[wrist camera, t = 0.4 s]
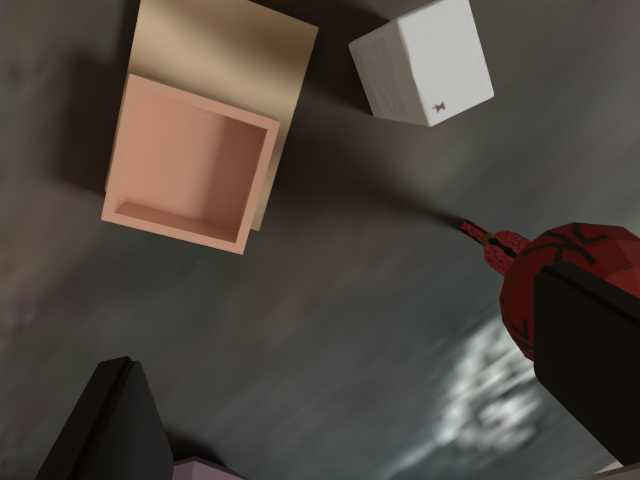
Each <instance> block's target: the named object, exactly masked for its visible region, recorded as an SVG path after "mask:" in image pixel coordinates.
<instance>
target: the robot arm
mask: <svg viewBox="0 0 640 480" xmlns="http://www.w3.org/2000/svg"><path fill="white" fill-rule="evenodd" d="M534 372H535V375H536V377H537V379H538V381H539V382H540V383H541V384H542V385H543V386H544V387H545V388H546V389H547V390H548V391H549V392H550V393H551V394H552V395H553V396H554V397H555V398H556V399H557V400H558V401H559V402H560V403H561V404H562V405H563V406H564V407H565V408H566V409H567V410H568V411H569V412H570V413H571V414H572V415H573V416H574V417H575V418H576V419H577V420H578V421H579V422H580V423H581V424H582V425H583V426H584V427H585V428H586V429H587V430H588V431H589V432H590V433H591V434H592V435H593V436H594V437H595V438H596V439H597V440H598V441H599V442H600V443H601V444H602V445H603V446H604V447H605V448H606V449H607V450H608V451H609V452H610V453H611V454H612V455H613V456H614V457H615V458H616V459H617V460H618V461H619V462H620V463H621V464H622V465H623V466H624V467H621V468H617V469H613V470H609V471H605V472H602V473H597V474H593V475H590V476H586V477H582V478H578V479H574V480H640V299H639V298H638V297H636V296H634V295H632V294H630V293H628V292H626V291H624V290H622V289H621V288H619V287H617V286H615V285H613V284H611V283H609V282H607V281H606V280H604V279H602V278H600V277H598V276H596V275H594V274H592V273H590V272H589V271H587V270H585V269H583V268H581V267H579V266H577V265H575V264H573V263H572V262H569V261H563V262H558V263H553V264H549V265H544V266H542V267H541V268H540V270H539V273H537V274H536V275H535V276H534ZM173 471H174V460H173V455H172V451H171V448H170V446H169V443H168V440H167V437H166V434H165V431H164V428H163V425H162V423H161V420H160V417H159V414H158V411H157V408H156V405H155V402H154V399H153V397H152V394H151V391H150V388H149V385H148V382H147V379H146V376H145V374H144V371H143V368H142V365H141V363H140V362H139V361H133V362H132V360H131V359H130V357H128V356H125V357H121V358H116V359H112V360H107V361H103V362H100V363H99V364H98V366H97V367H96V369H95V371H94V373H93V375H92V377H91V378H90V380H89V382H88V384H87V386H86V387H85V389H84V391H83V393H82V395H81V396H80V398H79V400H78V402H77V404H76V405H75V407H74V409H73V411H72V413H71V415H70V416H69V418H68V420H67V422H66V424H65V425H64V427H63V429H62V431H61V433H60V434H59V436H58V438H57V440H56V442H55V443H54V445H53V447H52V449H51V451H50V452H49V454H48V456H47V458H46V460H45V462H44V463H43V465H42V467H41V469H40V471H39V472H38V474H37V476H36V478H35V480H172V477H173Z"/></svg>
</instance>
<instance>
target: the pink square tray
mask: <svg viewBox="0 0 640 480" xmlns="http://www.w3.org/2000/svg"><path fill="white" fill-rule="evenodd" d="M280 123H281V122H280V121H279V120H278V119H276V118H273V117H270V116H267V115H264V114H261V113H257V112H254V111H251V110H248V109H245V108H242V107H239V106H236V105H233V104H230V103H227V102H224V101H220V100H217V99H214V98H211V97H208V96H205V95H202V94H199V93H196V92H193V91H190V90H187V89H183V88H180V87H177V86H174V85H171V84H168V83H165V82H162V81H159V80H156V79H153V78H150V77H146V76H143V75H136V74H129V79H128V84H127V89H126V94H125V99H124V104H123V109H122V115H121V120H120V125H119V130H118V135H117V140H116V145H115V151H114V156H113V161H112V166H111V171H110V176H109V181H108V187H107V192H106V197H105V202H104V207H103V212H102V218H101V220H105V221H109V222H113V223H117V224H121V225H125V226H129V227H133V228H137V229H141V230H145V231H149V232H153V233H157V234H161V235H166V236H170V237H174V238H178V239H182V240H186V241H190V242H194V243H198V244H202V245H206V246H210V247H214V248H218V249H222V250H226V251H230V252H234V253H238V254H242V255H243V251H244V248H245V244H246V241H247V237H248V234H249V230H250V227H251V223H252V220H253V216H254V213H255V210H256V206H257V203H258V199H259V196H260V192H261V189H262V185H263V182H264V178H265V175H266V171H267V168H268V165H269V161H270V158H271V154H272V151H273V147H274V144H275V140H276V137H277V133H278V130H279V126H280Z"/></svg>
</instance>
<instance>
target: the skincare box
mask: <svg viewBox="0 0 640 480" xmlns="http://www.w3.org/2000/svg"><path fill="white" fill-rule="evenodd" d="M348 46H349V49H350V52H351V54H352V57H353V60H354V63H355V66H356V68H357V71H358V74H359V77H360V80H361V82H362V85H363V88H364V91H365V93H366V96H367V99H368V101H369V104H370V107H371V110H372V112H373V115H374V117H377V118H383V119H389V120H394V121H400V122H406V123H411V124H417V125H423V126H428V127H431V126H433V125H435V124H437V123H440V122H442V121H444V120H446V119H448V118H450V117H452V116H454V115H456V114H458V113H460V112H462V111H464V110H467V109H469V108H471V107H473V106H475V105H477V104H479V103H481V102H483V101H486V100H488V99H490V98H492V97H493V96H494V92H493V89H492V85H491V81H490V77H489V74H488V70H487V66H486V62H485V59H484V55H483V52H482V48H481V44H480V41H479V37H478V34H477V30H476V27H475V23H474V19H473V16H472V12H471V8H470V5H469V1H468V0H436V1H434V2H431V3H429V4H427V5H424V6H422V7H420V8H417V9H415V10H413V11H410V12H408V13H406V14H404V15H402V16H400V17H397V18H395V19H394V20H392V21H390V22H389V23H387V24H385V25H383V26H381V27H380V28H378V29H376V30H374V31H372V32H370V33H368V34H366V35H364V36H362V37H360V38H358V39H356V40H354V41H352V42H351V43H349V45H348Z"/></svg>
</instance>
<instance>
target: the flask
mask: <svg viewBox="0 0 640 480" xmlns="http://www.w3.org/2000/svg"><path fill="white" fill-rule="evenodd" d="M172 480H249V479H247V478H245V477H243V476H241V475H240V474H238V473H236V472H234V471H232V470H231V469H229V468H227V467H224V466H221V465H219V464H216V463H213V462H211V461H208V460H205V459H202V458H200V457H197V456H193V457H190V458H186V459H182V460H179V461H175V462H174V471H173V477H172Z"/></svg>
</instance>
